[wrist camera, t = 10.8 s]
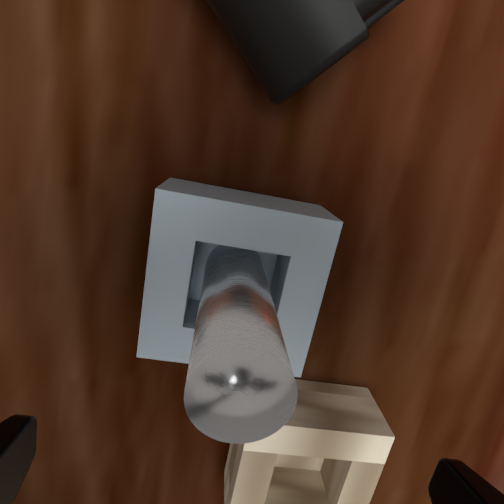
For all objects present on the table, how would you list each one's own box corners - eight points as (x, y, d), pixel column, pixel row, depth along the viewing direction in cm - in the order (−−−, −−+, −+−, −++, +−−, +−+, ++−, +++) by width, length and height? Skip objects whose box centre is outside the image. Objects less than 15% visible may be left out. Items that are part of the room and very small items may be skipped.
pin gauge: (201, 289, 19) (176, 437, 10) (210, 236, 18) (192, 341, 9) (256, 297, 20) (284, 448, 10) (267, 246, 19) (309, 357, 9)
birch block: (224, 471, 25) (223, 532, 21) (246, 372, 22) (249, 421, 18) (335, 481, 26) (354, 541, 22) (367, 387, 23) (395, 437, 19)
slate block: (152, 316, 21) (136, 357, 17) (170, 177, 18) (155, 188, 15) (287, 334, 22) (300, 377, 18) (320, 205, 19) (343, 222, 15)
